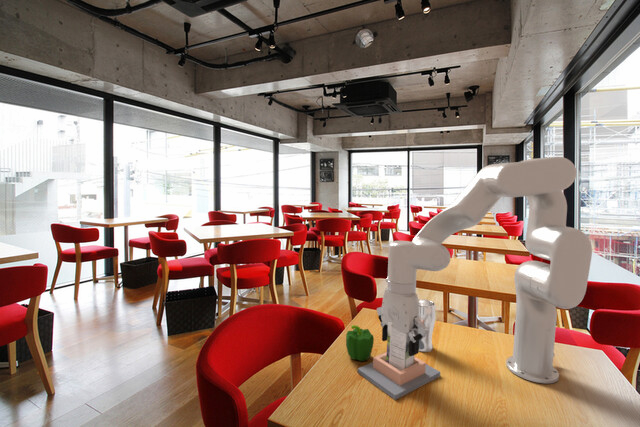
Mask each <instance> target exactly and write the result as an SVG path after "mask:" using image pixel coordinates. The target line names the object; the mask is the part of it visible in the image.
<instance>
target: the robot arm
mask: <svg viewBox="0 0 640 427" xmlns="http://www.w3.org/2000/svg"><path fill="white" fill-rule="evenodd" d="M576 177H577V169H576V166H575V164H574V163H573V162H572V161H571V160H570V159H569V158H566V157H562V156H552V157H551V156H550V157H541V158H529V159H523V160H520V161H518V162H517V161H516V162H515V161H514V162H505V163H503V162H502V163H494V164H493V163H492V164H488V165H486V166H484V167H482V168H481V169H480V170H479V171H478V172H477V173H476V174H475V176H474V177H473V178H472V179H471V181H470V182H469V183H468V184H467V185H466V186H465V187H464V189H463V190H462V191H461V192H460V193H459V195H458V196H457V197H456V198H455V199H454V201H453V202H452V203H451V204H450V205H448V206H447V207H446V208H444V209H443V210H442V211H440V212H439V213H438V214H436V215H435V216H433V217H432V218H431V219H430V220H429V221H427V222H426V224H425V225H424V226H422V228H421V229H420V230H419V231H418V233H417V234H415V236H414V238H412V241H409V240H394V241H391V242H390V243H389V245H388V255H387V256H388V257H387V259H388V261H387V263H388V264H387V278H386V279H385V281H386V283H387V287H385V289H384V292H383V297H382V304H381V306H380V307H377V308H376V311H377V312H376V313H377V315H378V317H377V318H378V320H379V322H380V326H381V328H382V330H381V332H382V333H381V341H383V342H387V335H388V321H390V322H391V323H392V324H393V328H395V329H396V330H398V331H400V332H402V333H405V334H407V333H408V335H409V337H410V339H411V341H409V356H413V355H414V356H416V355H418V354H419V352H420V351H419V340H421V339H422V338H424V337H425V335H426V334H427V332H428V328H427V327H426V326H425V325H424V324H423V323H422V322H421V321H420V320H419V303H418V299H419V297H418V294H417V293H416V292H417V270H423V271H428V272H439V271H440V272H441V271H443V270H445V269H446V268H447V267H448V266H449V265H450V263H451V254H450V251H449V249H448V248H447V247H446V246H444V245H443V243H444V242H445V240H447V239H448V238H449V237H451V236H452V235H453V234H455V233H457V232H461V231H463V230H466V229H470V228H472V227H475V226H477V225H478V224H480V222H482V220H483V219H484V218H485V216H486V215H488V213H489V212H490V210H491V209H492V208H493V207H494V206H495V205H496V204H497V202H499V200H500V199H501V198H502V197H503V198H519V197H520V198H521V197H526V198H527V201H528V216H527V217H528V219H527V224H526V226H527V227H526V232H525V240H524V241H525V243H524V246H525V249H526V250H527V252H529V253H530V254H532V255H533V256H536V257H538V258H540V259H543V260H547V261H550V264H549V263H546V262H543V261H538V260H527V261H524V262H522V263H521V264H519V265H518V267H517V268H516V269H515V272H514V277H513V278H514V281H513V282H514V287H515V293H516V294H515V297H516V307H515V322H514V334H513V336H514V337H513V349H512V356H509V357H508V358H506V362H505V364H506V365H505V366H506V368H508V370H509V371H510V372H512V374H514V375H516V376H518V377H520V378H522V379H524V380H527V381H530V382H533V383H538V384H554V383H556V382H558V381H559V377H560V373H559V371H558V370H557V369H556V368H555V367H554V365H553V364H554V357H555V340H556V339H555V338H556V327H557V317H558V314H557V308H559V309H564V310H567V309H573V308H575V307H577V306H578V305H579V304H580V303H582V301H583V299H584V297H585V295H586V292H587V288H588V287H587V286H588V283H589V282H588V280H589V274H590V269H591V264H592V263H591V262H592V255H593V249H592V248H593V247H592V244H591V241H590V238H589V237H588V235H587V234H586V233H584V232H583V231H582V230H580V229H577V228H575V227H571V226H567V214H568V203H567V199H566V196H565V194H564V192H563V190H566V189H567V188H569V187H570V186H572V185H573V183H574V182H575V180H576ZM556 307H557V308H556ZM418 328H419V329H420V332H418ZM412 332H414V334H415V337H414V335H413V333H412Z"/></svg>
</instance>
